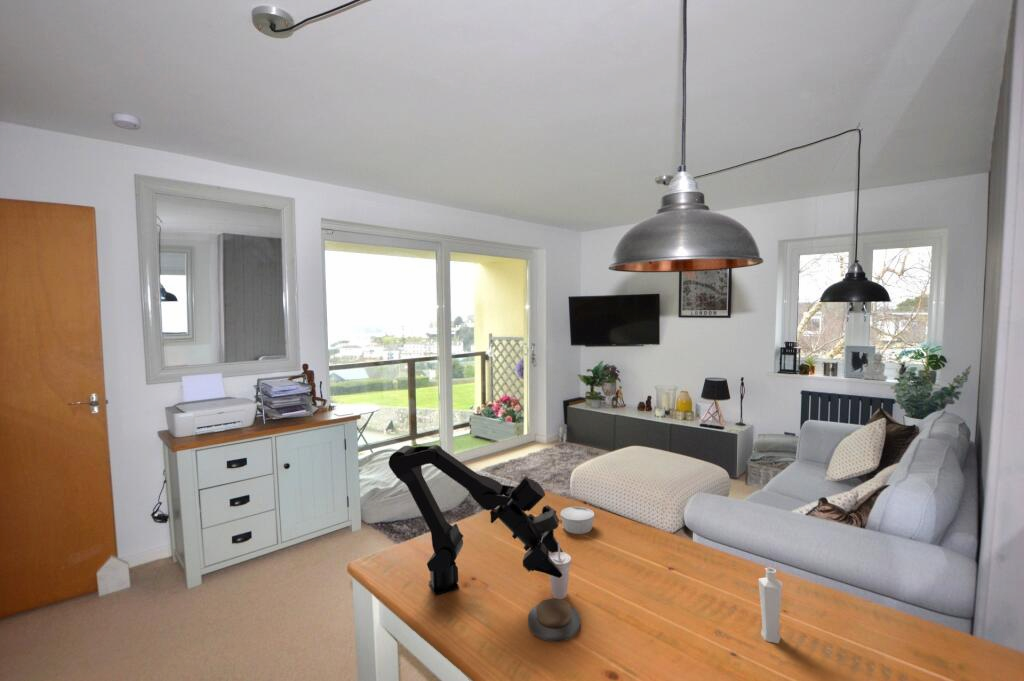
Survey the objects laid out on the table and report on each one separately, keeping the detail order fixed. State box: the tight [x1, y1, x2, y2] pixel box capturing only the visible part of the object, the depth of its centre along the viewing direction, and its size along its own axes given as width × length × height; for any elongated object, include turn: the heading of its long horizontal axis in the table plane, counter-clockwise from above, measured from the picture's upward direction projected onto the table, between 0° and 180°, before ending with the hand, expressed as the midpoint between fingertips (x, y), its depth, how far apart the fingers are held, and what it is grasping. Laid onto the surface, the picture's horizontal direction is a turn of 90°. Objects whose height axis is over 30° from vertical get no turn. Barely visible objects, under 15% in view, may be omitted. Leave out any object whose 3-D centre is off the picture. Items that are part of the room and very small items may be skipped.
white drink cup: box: [548, 541, 572, 600], centre depth 119 cm, size 6×6×14 cm
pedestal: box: [527, 597, 581, 643], centre depth 108 cm, size 12×12×4 cm
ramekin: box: [560, 506, 595, 535], centre depth 156 cm, size 11×11×5 cm
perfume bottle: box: [758, 567, 783, 644], centre depth 101 cm, size 5×4×15 cm
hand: (562, 566), depth 119 cm, fingers open, 9 cm apart
